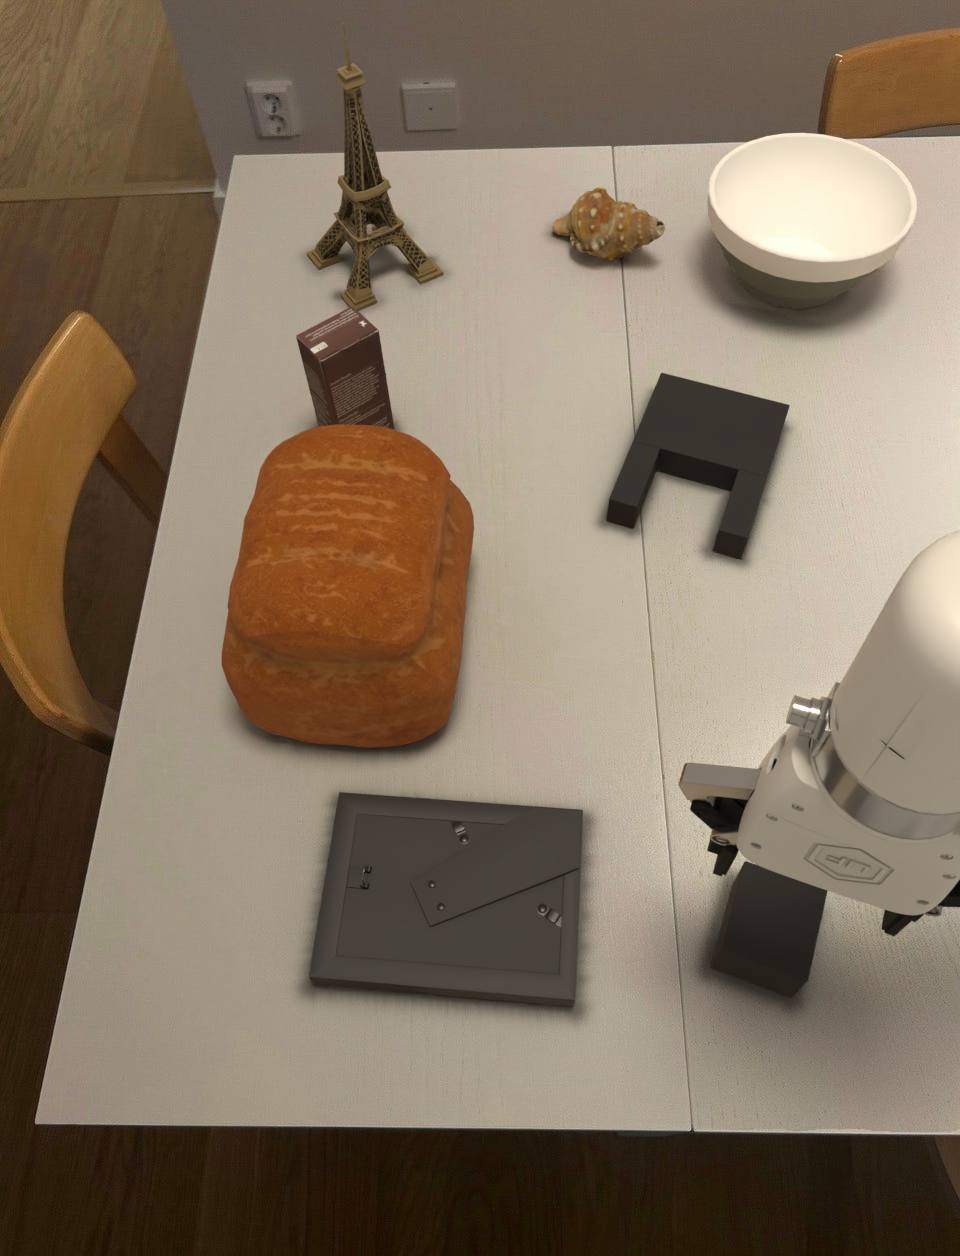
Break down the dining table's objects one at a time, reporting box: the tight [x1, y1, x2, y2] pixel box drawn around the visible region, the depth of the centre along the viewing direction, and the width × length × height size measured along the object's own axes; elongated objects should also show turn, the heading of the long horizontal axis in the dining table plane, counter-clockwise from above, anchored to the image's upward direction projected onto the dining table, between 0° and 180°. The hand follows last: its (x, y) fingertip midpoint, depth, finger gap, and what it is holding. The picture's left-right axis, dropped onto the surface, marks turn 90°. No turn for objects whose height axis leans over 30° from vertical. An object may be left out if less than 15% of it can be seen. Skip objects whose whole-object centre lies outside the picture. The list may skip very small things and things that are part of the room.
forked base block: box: [606, 372, 791, 560], centre depth 94 cm, size 12×16×3 cm
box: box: [295, 306, 396, 430], centre depth 94 cm, size 6×4×12 cm
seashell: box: [552, 186, 666, 261], centre depth 110 cm, size 9×8×10 cm
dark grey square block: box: [710, 860, 828, 998], centre depth 71 cm, size 6×6×4 cm
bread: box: [221, 424, 475, 748], centre depth 80 cm, size 18×21×17 cm
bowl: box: [706, 132, 918, 310], centre depth 105 cm, size 20×20×10 cm
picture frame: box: [308, 791, 584, 1008], centre depth 74 cm, size 13×2×18 cm
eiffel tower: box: [306, 22, 444, 312], centre depth 101 cm, size 11×11×25 cm
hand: (806, 880), depth 61 cm, fingers open, 9 cm apart
